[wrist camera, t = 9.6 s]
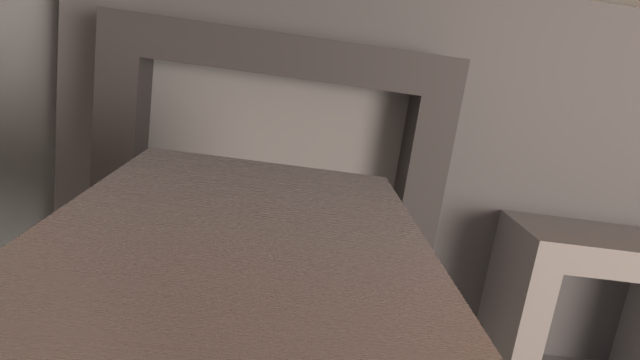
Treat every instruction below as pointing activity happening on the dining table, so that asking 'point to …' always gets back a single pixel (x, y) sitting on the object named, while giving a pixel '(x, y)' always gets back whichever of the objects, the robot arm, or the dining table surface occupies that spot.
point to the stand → (400, 132)
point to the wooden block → (231, 270)
